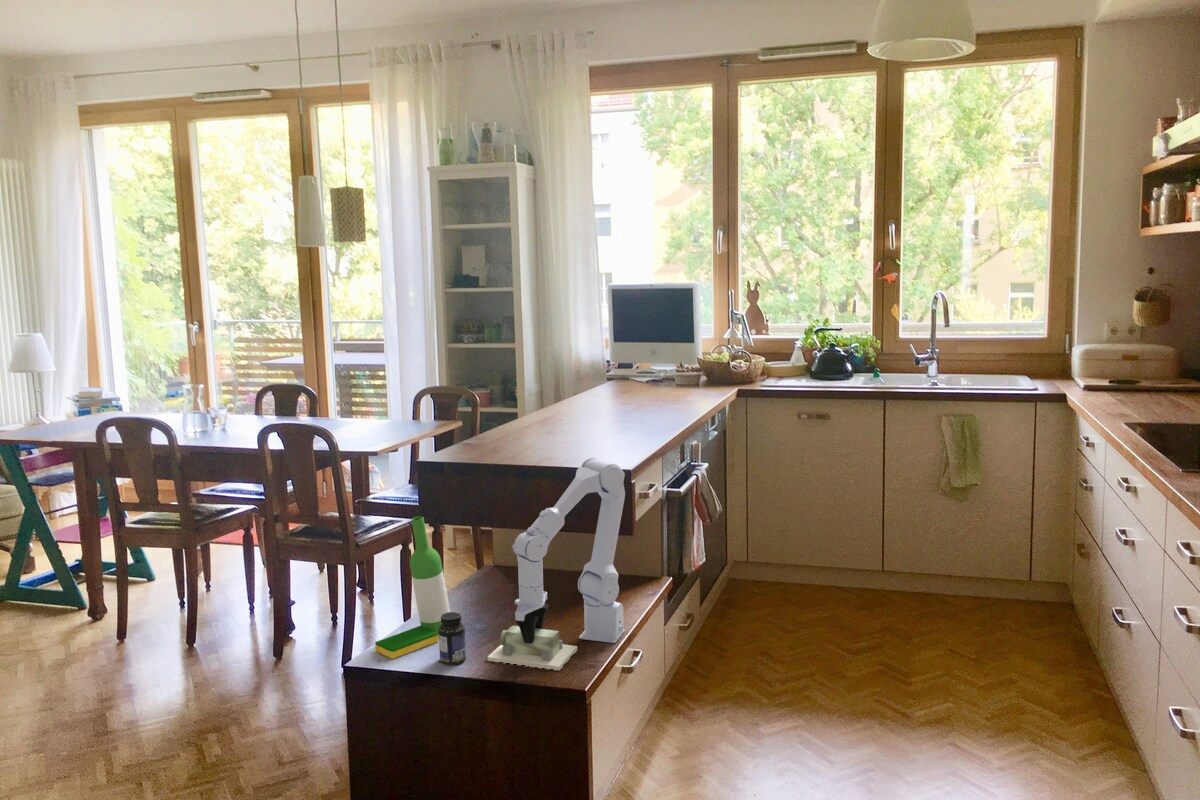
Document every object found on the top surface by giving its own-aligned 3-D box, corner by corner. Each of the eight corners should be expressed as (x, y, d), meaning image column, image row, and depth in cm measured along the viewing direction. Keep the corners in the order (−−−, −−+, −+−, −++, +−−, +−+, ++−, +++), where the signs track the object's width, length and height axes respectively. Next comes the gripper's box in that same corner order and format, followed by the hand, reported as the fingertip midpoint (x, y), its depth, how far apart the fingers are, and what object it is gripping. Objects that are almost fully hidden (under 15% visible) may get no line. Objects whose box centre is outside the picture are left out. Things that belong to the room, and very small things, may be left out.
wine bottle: (415, 634, 245) (395, 523, 237) (432, 619, 252) (413, 511, 244) (441, 637, 242) (421, 525, 234) (458, 622, 248) (439, 512, 241)
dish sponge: (374, 651, 235) (374, 641, 235) (421, 634, 245) (421, 624, 245) (392, 659, 230) (391, 649, 230) (439, 641, 240) (438, 632, 240)
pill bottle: (467, 654, 233) (465, 610, 231) (464, 665, 227) (462, 620, 225) (441, 655, 232) (439, 611, 231) (438, 666, 226) (436, 621, 225)
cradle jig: (577, 650, 234) (577, 638, 234) (559, 670, 223) (558, 658, 222) (508, 641, 240) (508, 629, 239) (487, 660, 229) (487, 648, 228)
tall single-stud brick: (559, 651, 231) (558, 631, 230) (553, 658, 227) (552, 637, 227) (507, 644, 236) (506, 624, 235) (499, 650, 232) (499, 630, 231)
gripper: (527, 572, 237) (529, 625, 239) (502, 592, 223) (504, 648, 225) (554, 575, 234) (555, 628, 236) (530, 595, 221) (532, 652, 223)
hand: (532, 638), depth 231 cm, fingers closed on tall single-stud brick, 4 cm apart
